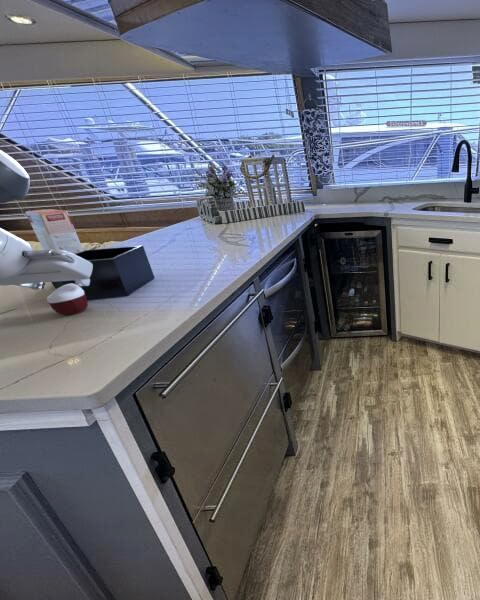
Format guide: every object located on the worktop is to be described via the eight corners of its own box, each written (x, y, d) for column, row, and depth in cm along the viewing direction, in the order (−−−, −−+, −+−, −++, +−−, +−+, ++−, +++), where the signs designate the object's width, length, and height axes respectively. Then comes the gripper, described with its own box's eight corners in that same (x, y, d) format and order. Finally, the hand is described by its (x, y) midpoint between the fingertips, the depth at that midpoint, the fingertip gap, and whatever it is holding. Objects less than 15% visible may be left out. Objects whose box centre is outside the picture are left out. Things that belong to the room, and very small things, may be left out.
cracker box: (99, 282, 95) (67, 209, 87) (72, 289, 90) (36, 213, 82) (83, 275, 102) (52, 207, 94) (57, 281, 97) (22, 210, 89)
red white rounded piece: (88, 314, 73) (64, 264, 68) (51, 322, 70) (23, 270, 65) (95, 301, 80) (74, 255, 76) (61, 308, 77) (37, 260, 73)
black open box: (62, 302, 81) (43, 264, 77) (99, 283, 94) (85, 250, 90) (128, 295, 83) (112, 258, 80) (154, 278, 97) (143, 245, 93)
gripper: (61, 236, 62) (115, 269, 75) (-57, 243, 60) (19, 276, 73) (53, 265, 60) (110, 293, 73) (-71, 273, 58) (10, 301, 71)
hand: (63, 284), depth 73 cm, fingers open, 8 cm apart
